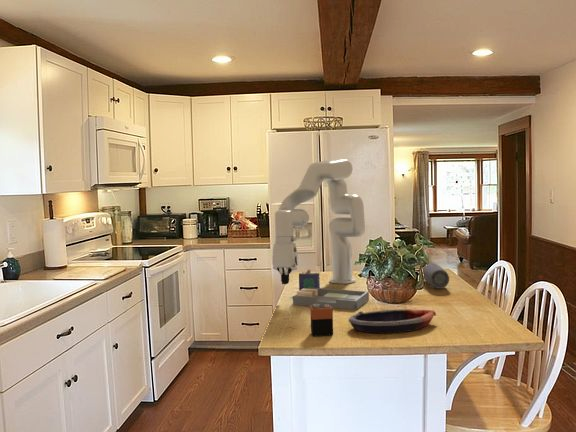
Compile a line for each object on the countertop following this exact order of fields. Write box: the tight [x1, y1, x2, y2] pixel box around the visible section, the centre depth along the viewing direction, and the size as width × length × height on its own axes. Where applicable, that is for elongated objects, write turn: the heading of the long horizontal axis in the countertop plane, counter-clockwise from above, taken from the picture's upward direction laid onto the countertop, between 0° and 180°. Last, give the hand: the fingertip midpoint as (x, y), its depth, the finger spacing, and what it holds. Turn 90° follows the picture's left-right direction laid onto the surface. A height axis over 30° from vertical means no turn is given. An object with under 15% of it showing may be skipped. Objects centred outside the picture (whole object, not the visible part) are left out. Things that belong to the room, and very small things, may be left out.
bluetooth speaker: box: [423, 261, 450, 289], centre depth 231 cm, size 23×9×10 cm, turn 178°
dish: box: [348, 308, 437, 334], centre depth 171 cm, size 16×31×5 cm, turn 98°
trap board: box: [292, 287, 370, 311], centre depth 207 cm, size 16×27×4 cm, turn 64°
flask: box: [298, 269, 321, 291], centre depth 225 cm, size 9×3×11 cm, turn 88°
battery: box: [309, 304, 334, 337], centre depth 165 cm, size 4×7×10 cm, turn 95°
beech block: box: [296, 288, 318, 297], centre depth 208 cm, size 6×6×3 cm
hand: (285, 283), depth 211 cm, fingers closed
